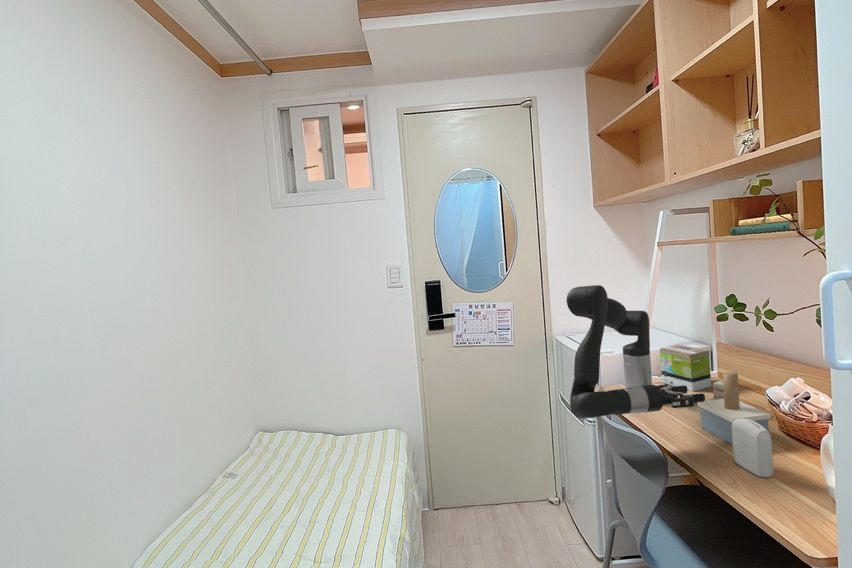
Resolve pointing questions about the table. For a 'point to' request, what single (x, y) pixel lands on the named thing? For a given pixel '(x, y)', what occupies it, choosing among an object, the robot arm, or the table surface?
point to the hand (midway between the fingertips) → (695, 393)
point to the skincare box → (718, 390)
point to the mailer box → (722, 425)
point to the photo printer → (752, 447)
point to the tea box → (685, 367)
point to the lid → (732, 403)
